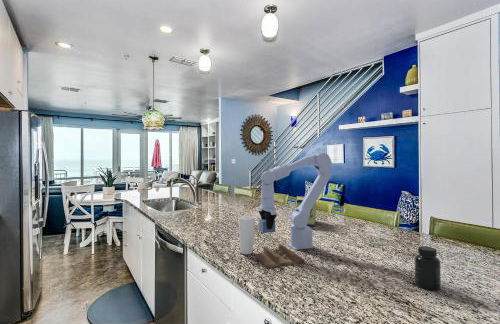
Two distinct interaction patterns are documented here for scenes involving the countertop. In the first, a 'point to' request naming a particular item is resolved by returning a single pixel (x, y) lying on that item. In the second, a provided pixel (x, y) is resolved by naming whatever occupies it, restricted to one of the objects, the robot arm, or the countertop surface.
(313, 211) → the protein box
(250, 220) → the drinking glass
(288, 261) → the shelf frame
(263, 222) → the shelf block
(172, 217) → the countertop surface
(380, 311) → the countertop surface
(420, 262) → the supplement bottle
